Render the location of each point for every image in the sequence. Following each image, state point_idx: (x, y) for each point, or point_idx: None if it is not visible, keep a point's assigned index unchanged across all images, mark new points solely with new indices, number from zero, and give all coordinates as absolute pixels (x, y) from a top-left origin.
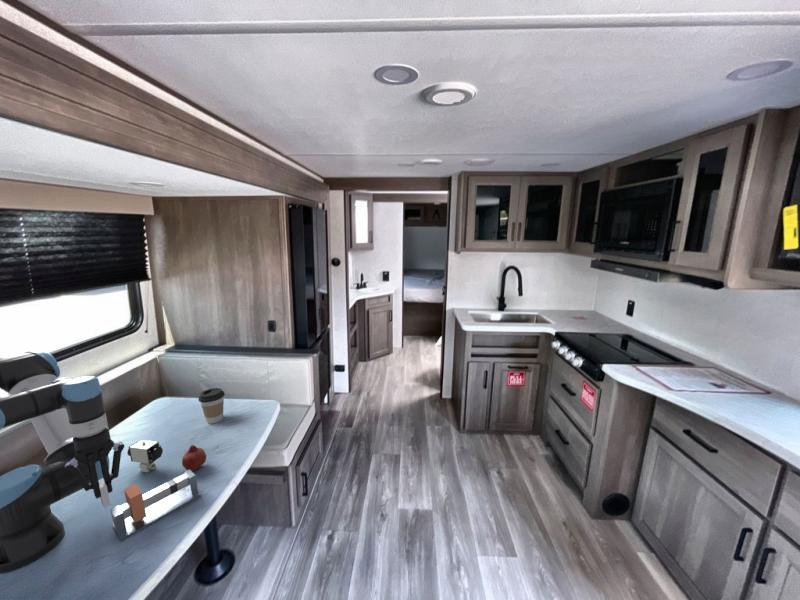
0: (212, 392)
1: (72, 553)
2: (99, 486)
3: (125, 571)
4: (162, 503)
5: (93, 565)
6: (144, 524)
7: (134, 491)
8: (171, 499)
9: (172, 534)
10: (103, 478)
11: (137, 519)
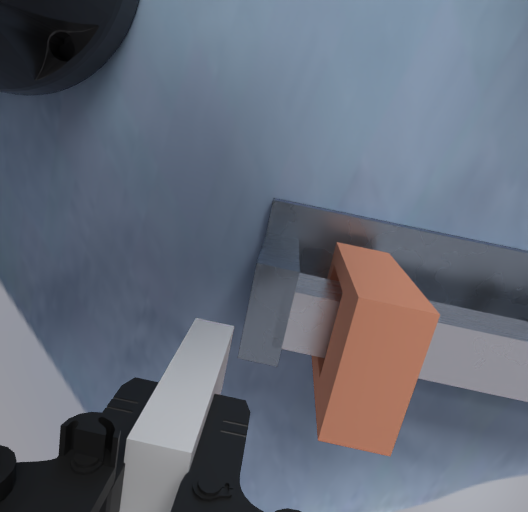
0: None
1: (122, 200)
2: (122, 502)
3: None
4: (462, 290)
5: (148, 344)
6: None
7: (377, 395)
8: (500, 304)
9: (359, 468)
10: (177, 492)
11: None
